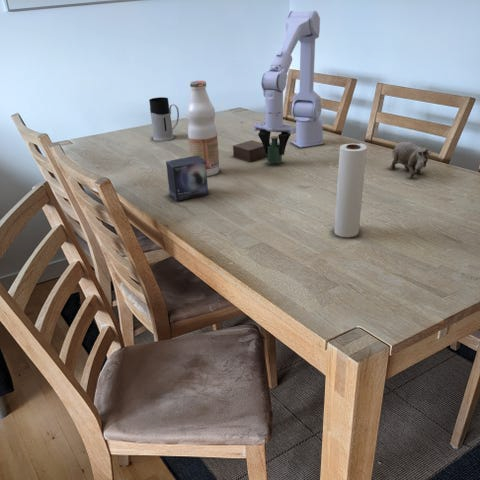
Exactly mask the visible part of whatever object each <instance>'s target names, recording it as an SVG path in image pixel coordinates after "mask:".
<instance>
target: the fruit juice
mask: <svg viewBox="0 0 480 480" xmlns="http://www.w3.org/2000/svg"><path fill="white" fill-rule="evenodd" d="M189 86H190V89H191V92H190V98H189V101H188V105H187V107H186V110H185V111H186V112H185V113H186V114H185V115H186V118H187V121H188V125H187V138H188V146H189V157H192V156H197V155H198V156H199V157H201V158H202V159H204V160H205V161H206V170H207V177H210V176H215V175H217V174H218V173H219V172H220V158H219V157H220V155H219V142H218V129H217V124H216V122H215V117H216V110H215V109H216V108H215V107H214V105H213V103H212V101H211V99H210V97H209V94H208V92H207V89H206V88H207V82H206V81H205V80H193V81H190V84H189Z"/></svg>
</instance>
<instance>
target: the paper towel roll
mask: <svg viewBox="0 0 480 480" xmlns="http://www.w3.org/2000/svg"><path fill="white" fill-rule="evenodd" d="M367 149H368V148H367V145H366V144H364V143H363V142H360V143H345V144H342V145H340V146H339V157H338V171H337V183H336V184H337V185H336V200H335V201H336V202H335V217H334V229H333V230H334V231H333V232H334V234H335V235H336V236H337V237H341V238H353V237H356V236H357V235H359V232H360V221H361V212H362V202H363V191H364V180H365V172H366V171H365V170H366V160H367Z"/></svg>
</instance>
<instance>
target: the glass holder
mask: <svg viewBox="0 0 480 480" xmlns="http://www.w3.org/2000/svg"><path fill="white" fill-rule="evenodd" d="M148 102H149V112H150V118H151V120H150V121H151V126H152V134H153V137H152V140H153V141H155V142H166V141H171V140H173V139H174V138H175V136H174V134H173V130H174V129H175V128H176V126H177V125H178V123H179V119H180V112H179V108H178V105H176V104H174V103H172V104H170V103H169V98H168V97H165V96H164V97H163V96H161V97H160V96H159V97H152V98H149V100H148ZM172 106H173V107H175V109H176V115H177V116H176V122H175V124H174V125H173V126H172V117H171V115H172Z"/></svg>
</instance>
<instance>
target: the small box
mask: <svg viewBox="0 0 480 480" xmlns="http://www.w3.org/2000/svg"><path fill="white" fill-rule="evenodd" d="M165 165H166V174H167V182H168V193H169V194H168V195H169V196H170V197H171V198H173V199H174V200H175V201H176V202H179V201H180V202H181V201H183V200H189V199H194V198H198V197H202V196H207V195H209V187H208V186H209V185H208V176H207V170H206V161H205V160H204V159H202V158H201V157H199V156H198V155H197V156H192V157H190V156H186V157H182V158H176V159H172V160H171V159H170V160H167V161H165Z"/></svg>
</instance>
